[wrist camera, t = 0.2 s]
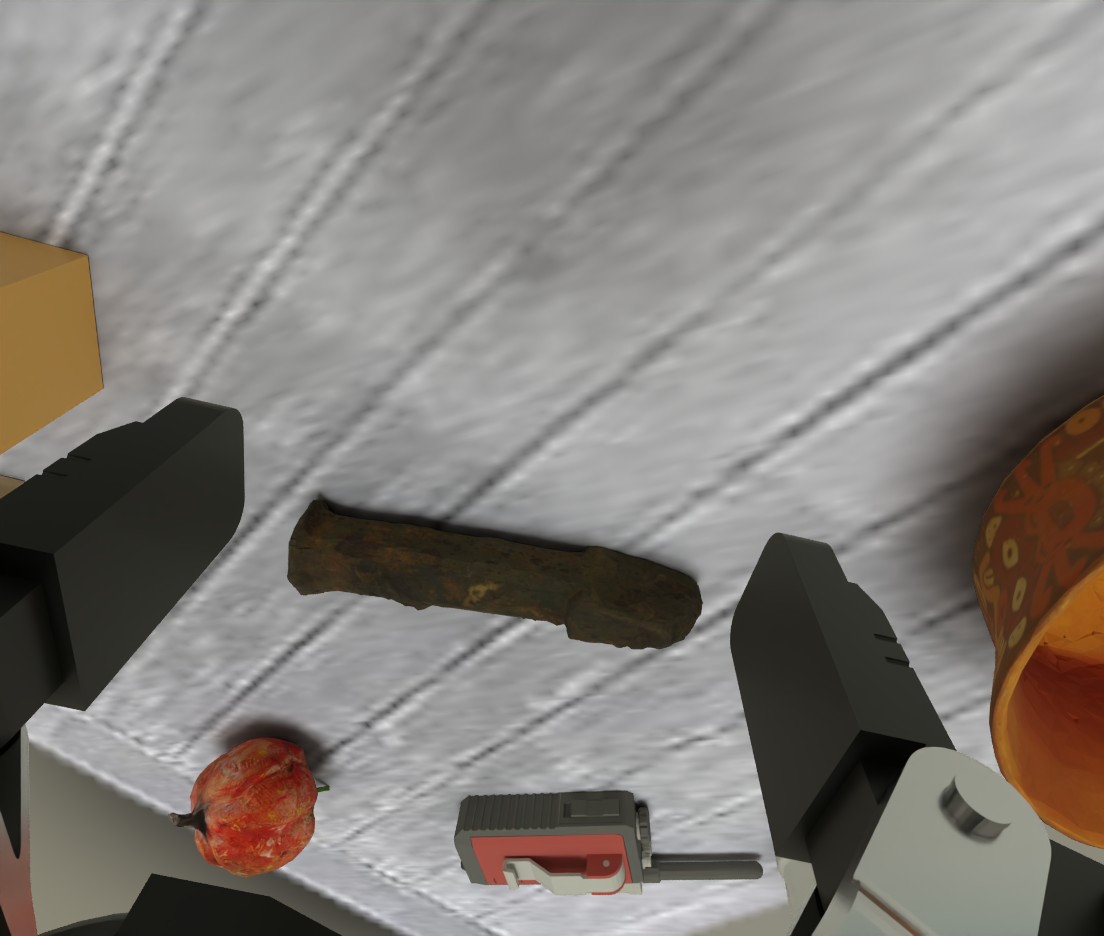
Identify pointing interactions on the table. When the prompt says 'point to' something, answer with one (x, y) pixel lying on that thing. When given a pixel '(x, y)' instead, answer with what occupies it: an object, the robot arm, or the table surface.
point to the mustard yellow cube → (44, 336)
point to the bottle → (796, 881)
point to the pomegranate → (253, 807)
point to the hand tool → (495, 578)
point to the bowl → (1050, 625)
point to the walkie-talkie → (571, 844)
